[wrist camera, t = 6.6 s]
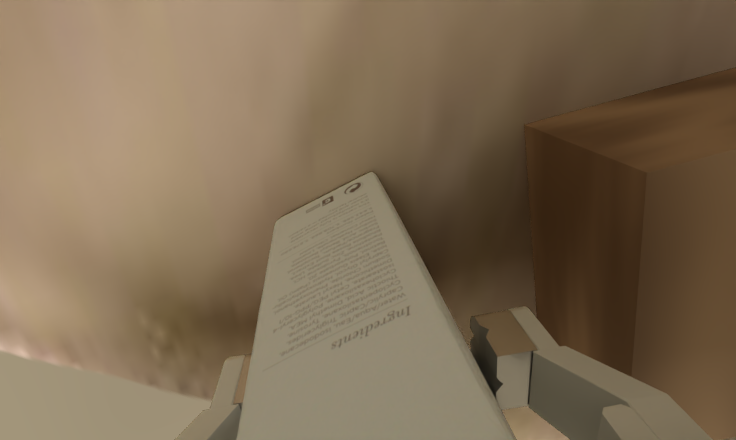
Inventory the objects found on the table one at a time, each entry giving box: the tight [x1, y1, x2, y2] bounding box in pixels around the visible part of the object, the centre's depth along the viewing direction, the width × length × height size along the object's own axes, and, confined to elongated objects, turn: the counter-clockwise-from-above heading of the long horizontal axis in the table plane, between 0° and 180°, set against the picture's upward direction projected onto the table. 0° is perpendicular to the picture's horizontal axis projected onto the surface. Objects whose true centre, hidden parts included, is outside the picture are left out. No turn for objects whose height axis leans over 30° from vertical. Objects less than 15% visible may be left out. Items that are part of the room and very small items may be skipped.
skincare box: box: [236, 172, 516, 440], centre depth 10 cm, size 6×4×12 cm
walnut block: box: [524, 67, 736, 440], centre depth 14 cm, size 12×12×6 cm
